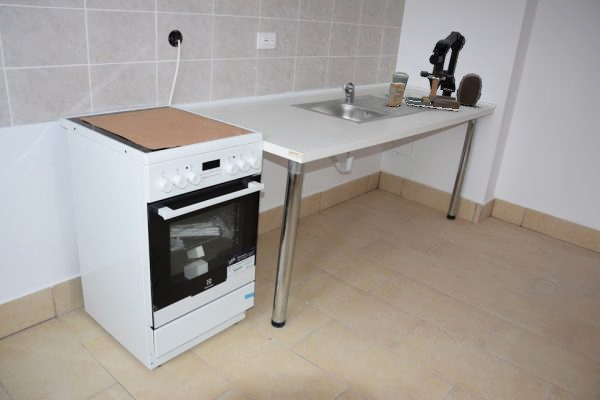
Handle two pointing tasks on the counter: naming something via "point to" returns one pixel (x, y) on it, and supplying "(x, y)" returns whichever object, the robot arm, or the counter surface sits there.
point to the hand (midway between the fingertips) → (433, 90)
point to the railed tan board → (446, 102)
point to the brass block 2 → (426, 100)
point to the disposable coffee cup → (400, 78)
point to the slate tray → (416, 102)
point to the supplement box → (395, 94)
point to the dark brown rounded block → (469, 89)
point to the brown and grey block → (433, 89)
